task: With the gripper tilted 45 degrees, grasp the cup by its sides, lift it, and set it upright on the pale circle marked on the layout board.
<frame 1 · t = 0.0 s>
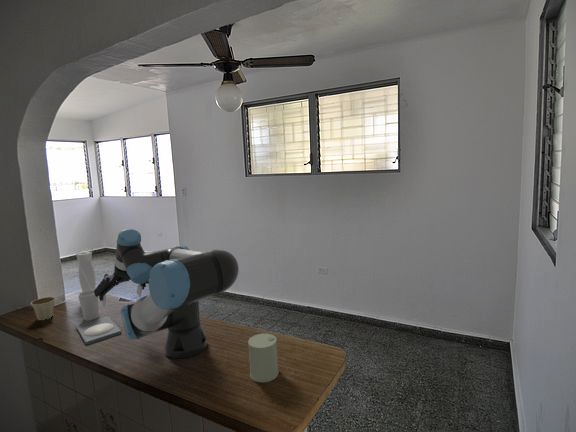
hand: (121, 299, 140), 15 cm above the worktop, tool tilted 35°, fingers open, 13 cm apart
layout board: (98, 330, 147), on the worktop
skyscraper: (90, 300, 183), on the worktop
can: (264, 374, 111), on the worktop
cup: (91, 317, 161), on the worktop
flower pot: (45, 318, 162), on the worktop
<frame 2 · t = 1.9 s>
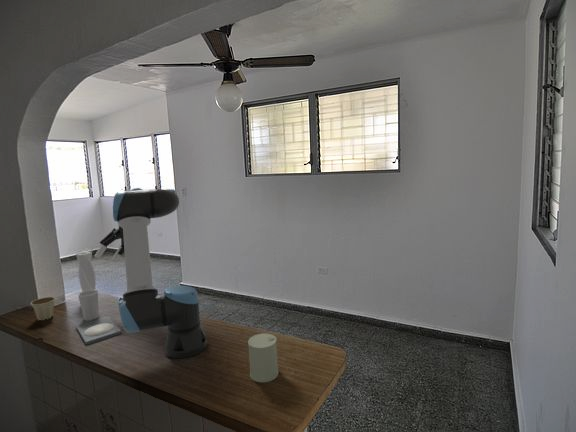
hand: (105, 258, 166), 26 cm above the worktop, tool tilted 45°, fingers open, 13 cm apart
nothing on the worktop moved.
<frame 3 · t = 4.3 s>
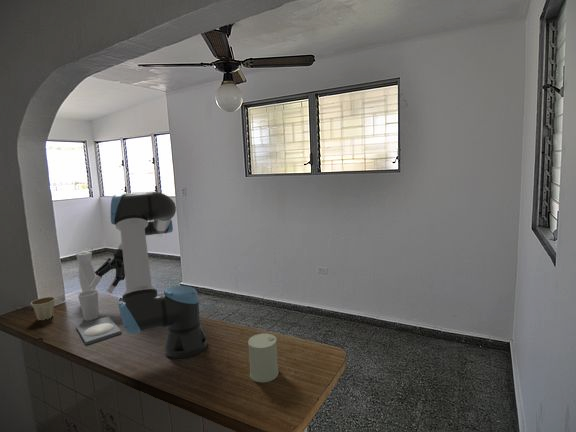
hand: (99, 290, 165), 11 cm above the worktop, tool tilted 45°, fingers open, 13 cm apart
nothing on the worktop moved.
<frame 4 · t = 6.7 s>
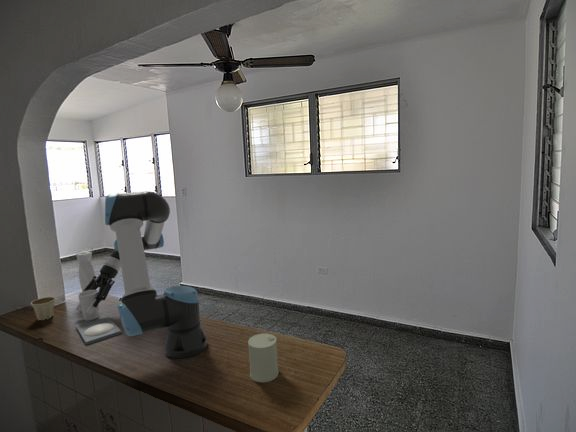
hand: (83, 311, 157), 4 cm above the worktop, tool tilted 45°, fingers closed on cup, 8 cm apart
cup: (91, 317, 161), on the worktop, touching gripper
everything else where it was.
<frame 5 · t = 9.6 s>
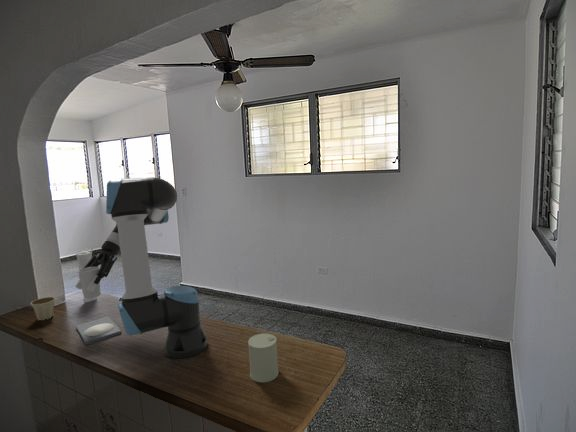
hand: (83, 289, 147), 18 cm above the worktop, tool tilted 45°, fingers closed on cup, 8 cm apart
cup: (92, 296, 150), point 13 cm above the worktop, touching gripper
everything else where it was.
when the fingers open (7 cm above the worktop, at t = 12.6 s): cup drops 2 cm, resting on layout board.
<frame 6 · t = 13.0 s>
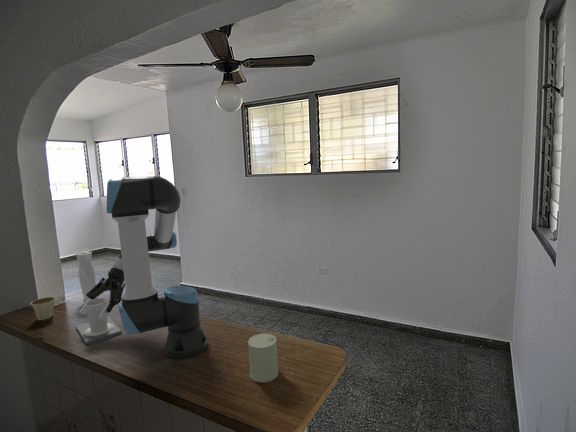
hand: (91, 316, 142), 8 cm above the worktop, tool tilted 45°, fingers open, 13 cm apart
cup: (99, 329, 145), point 1 cm above the worktop, touching layout board
everything else where it was.
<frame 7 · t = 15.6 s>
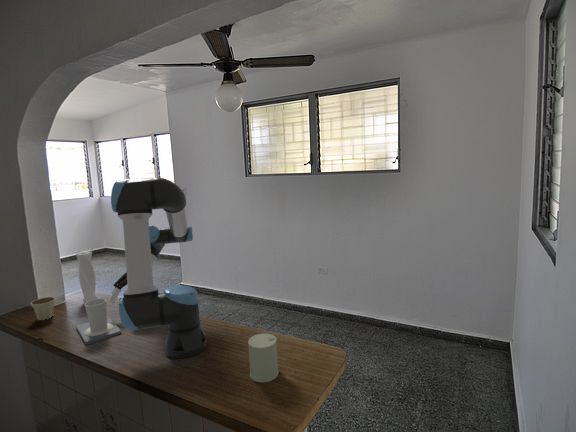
hand: (120, 304, 153), 8 cm above the worktop, tool tilted 45°, fingers open, 13 cm apart
nothing on the worktop moved.
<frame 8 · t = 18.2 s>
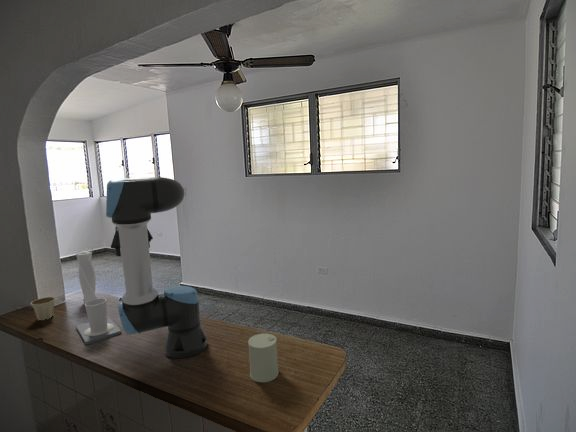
hand: (134, 259, 158), 27 cm above the worktop, tool pointing down, fingers open, 13 cm apart
nothing on the worktop moved.
at the end: cup 0.1 cm from the target spot, point 1.2 cm above the worktop; cup tilted 1°; the gripper is holding nothing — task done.
